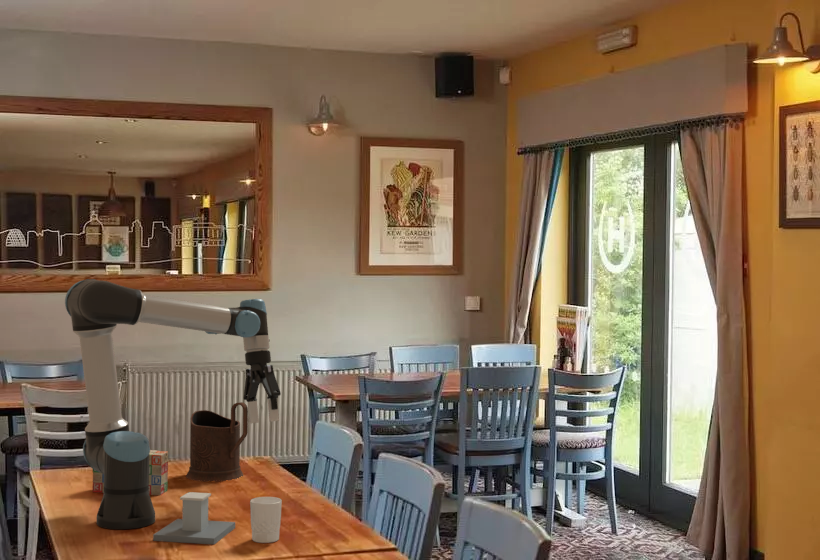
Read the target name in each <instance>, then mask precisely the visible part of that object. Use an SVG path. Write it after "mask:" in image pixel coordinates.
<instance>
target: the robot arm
mask: <svg viewBox="0 0 820 560" xmlns="http://www.w3.org/2000/svg"><path fill="white" fill-rule="evenodd" d="M64 305H65V310H66V311H67V314H68V315H69V316H70V319H71V325H72V332H73V333H74V334H76V335H77V336H78V337H79V345H80V353H81V359H82V360H81V361H82V369H83V377H84V384H85V385H84V386H85V392H86V400H87V401H86V402H87V409H88V411H87V412H88V417H89V418H88V419H89V423H88V424H87V425H86V426H85V428H84V434H85V440H84V442H83V445H82V455H83V457H84V460H85V461H86V463H87V464H88V465H89V467H90V468H91V469H92V470H93V469H94V470H96V471H97V472H100V473H102V474H104V493H103V496H102V498H101V502H100V503H99V508H98V510H97V513H96V525H97V526H98V527H100V528H103V529H108V530H109V529H110V530H132V529H139V528H145V527H147V526H150V525H152V524H154V523H155V522H156V511H155V508H154V507H155V506H154V504H153V501H152V498H151V495H149V453H150V450H151V447H150V442H149V441H150V440H149V438H148V436H146V435H145V434H143V433H141V432H137V431H136V432H134V431H130V427H129V422H128V421H127V420H126V419H124V418H123V415H122V407H121V406H122V405H121V399H120V391H119V383H118V374H117V365H116V356H115V347H114V340H113V332H114V330H115V329H116V328H117V327H118V325H129V326H135V325H137V324H138V323H143V324H150V325H156V326H157V325H158V326H165V327H172V328H178V329H179V328H180V329H187V330H193V331H200V332H201V331H202V332H205V333H206V334H208V335H217V334H223V335H227V336H228V335H229V336H234V337H241V338H243V341H242V342H243V348H244V351H245V353H244V358H245V359H244V360H245V364H246V366H250V368H246V369H245V381H244V382H245V383H244V390H243V400H244V401H246V402H247V407H248V420H249V421H248V422H249V424H256V423H260V420H259V419H260V418H259V410H258V399H257V394H258V389H259V388H260V387H259V386H260V384H261V385H262V387H263V388H264V391H265V393H266V395H267V397H266V399H267V407H268V408H267V409H268V417H269V418H268V419H269V422H271V423H273V422H277V421H278V422H279V421H280V416H279V415H280V414H279V407H278V406H279V405H278V398H279V397H280V396H281V389H280V386H279V385H278V384H279V383H278V381H277V378H276V375H275V372H274V365H273V364H270V363H271V362H272V359H271V358H272V357H271V356H272V355H271V351H270V350H269V349H270V339H269V338H270V337H269V327H268V317H267V316H268V312H267V308H266V303H265V300H264V299H261V298H252V299H251V298H250V299H245V300H241V301H240V303H239V306H237V307H226V306H219V305H212V304H207V303H206V304H205V303H202V302H201V303H200V302H196V301H195V302H194V301H189V300H188V301H187V300H181V299H174V298H169V297H164V296H163V297H162V296H156V295H150V294H145V293H143V292H142V290H141V289H136V288H130V287H127V286H124V285H120V284H117V283H114V282H111V281H108V280H98V279H94V278H93V279H90V278H87V279H83V280H79V281H77V282H75V283H74V284H73V285H72V286H70V287H69V289H68V290H67V293H66V294H65V299H64Z"/></svg>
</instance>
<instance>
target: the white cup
mask: <svg viewBox="0 0 820 560" xmlns="http://www.w3.org/2000/svg"><path fill="white" fill-rule="evenodd" d="M249 500H250V502H249V505H250V508H249V509H250V526H251V527H250V528H251V539H252V541H253V542H255V543H258V544H267V543H269V544H271V543H274V542H278V540H280V530H281V529H280V528H281V521H282V520H281V519H282V505H283V504H282V501H283V500H282V499H281V498H279V497H276V496H258V497H255V498H251V499H249Z"/></svg>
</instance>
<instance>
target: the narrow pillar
mask: <svg viewBox="0 0 820 560" xmlns="http://www.w3.org/2000/svg"><path fill="white" fill-rule="evenodd" d="M211 496H212V492H211V493H210V492H209V493H208V492H195V491H194V492H193V491H191V492H190V491H188V492H187V493H184V494H183V495H182V496H180V497H179V500H181V501H182V518H177V519H174V520H173V521H172V522H170V523H169V524H167V525H165V526H163V528H161V529H160V530H158V531H157V532H155V533H153V534H152V541H154V542H168V543H170V542H171V543H185V544H187V543H188V544H199V545H201V544H202V545H216V544H217V543H218V542H219V541H221V540H222V539H223V538H225V537H226V536H227V535H228V534H230V533H231V532H232V531H233V530H235V529H236V521H225V520H224V521H221V520H209V497H211Z"/></svg>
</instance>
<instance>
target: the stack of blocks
mask: <svg viewBox="0 0 820 560" xmlns="http://www.w3.org/2000/svg"><path fill="white" fill-rule="evenodd" d="M168 475H169V451H165V450H158V449H157V450H154V449H150V453H149V495H150V496H162V495H163V494H165V493H167V492H168V487H169V485H168V482H169V481H168V478H169V477H168ZM92 493H103V494H104V474H102V473H100V472H97V471H96V470H94V469H92Z"/></svg>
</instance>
